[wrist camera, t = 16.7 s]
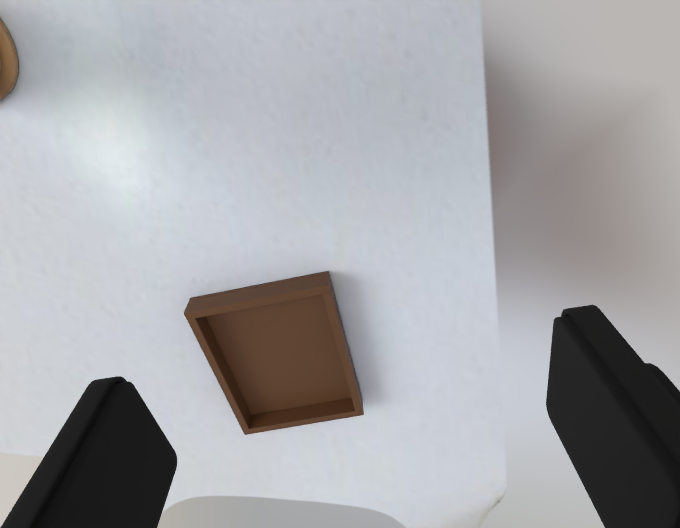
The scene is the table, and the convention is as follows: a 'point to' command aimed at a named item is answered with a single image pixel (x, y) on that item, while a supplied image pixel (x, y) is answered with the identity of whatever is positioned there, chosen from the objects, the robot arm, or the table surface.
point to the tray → (278, 352)
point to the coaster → (7, 63)
